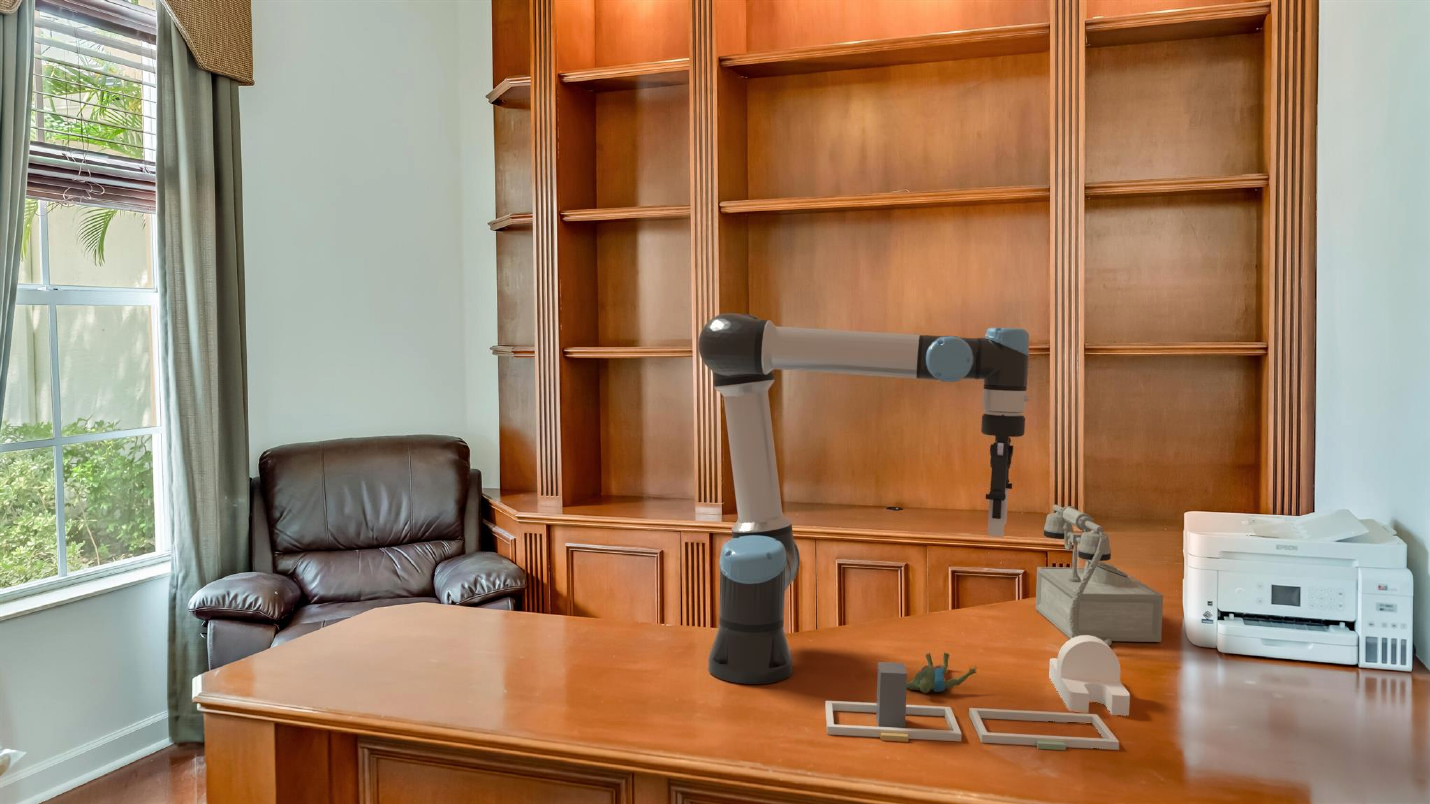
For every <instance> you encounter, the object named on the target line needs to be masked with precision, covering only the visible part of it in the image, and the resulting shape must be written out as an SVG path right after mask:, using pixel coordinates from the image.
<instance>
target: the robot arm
mask: <svg viewBox="0 0 1430 804" xmlns="http://www.w3.org/2000/svg"><path fill="white" fill-rule="evenodd" d="M698 351H699V352H698V353H699V356H700V358H701V360H702V362H703V363H704V365H705V366H706V367H707V369H709V370H710V371H711V372H712V377H713V385H714V386H713V387H714V389H715V390H716V391H717V392H718V393H720V394H721V395H722V397H723V402H724V403H723V404H724V411H725V417H726V418H725V420H726V429H727V435H728V445H729V453H730V461H731V469H732V477H733V485H734V487H733V488H734V493H735V503H736V511H737V520H736V522H735V524H733V526H732V527H731V534H732V535H731V537H732V538H731V539H730V540H728V541H726V542H725V543H724V544H723V545H722V548H721V551H720V557H719V569H720V570H719V572H720V573H719V607H718V608H719V610H718V611H719V614H718V615H719V619H718V620H719V621H718V629H717V633H716V635H715V638H714V640H713V644H712V647H711V649H710V653H709V655H708V672H709V673H710V674H711V675H712V676H714V677H715V678H717V679H720V680H722V681H727V682H731V683H735V684H736V683H737V684H746V685H760V684H762V685H764V684H771V683H776V682H782V681H784V680H787V679H789V677H791V676H792V674H793V663H794V662H793V657H792V654H791V649H790V647H789V643H788V640H787V637H786V636H787V635H786V633H785V629H784V627H785V625H784V624H785V594H786V593H785V592H786V590H787V589H788V588H789V586H791V584H792V583H793V582H794V580H795V579H796V577H797V575H798V573H799V569H800V568H799V567H800V565H801V564H800V563H801V556H800V551H799V548H798V545H797V543H796V542H795V541H796V540H794V531H793V523H792V521H791V520H790V519H789V518H788V517H787V516H785V515H784V513H783V507H782V499H781V490H780V483H779V474H778V466H777V456H776V455H777V454H776V448H775V441H774V431H773V424H772V423H773V422H772V416H771V406H770V399H769V389H771V387H772V385H773V384H774V382H775V373H774V370H779V371H781V370H782V371H797V372H798V371H800V372H810V373H811V372H813V373H815V372H816V373H828V374H845V375H858V376H873V377H889V378H890V377H891V378H903V379H904V378H905V379H906V378H907V379H920V380H929V381H930V380H931V381H932V380H933V381H940V382H945V383H955V382H958V381H960V380H962V379H963V380H983V388H982V405H981V409H982V411H984V412H985V413H983V414H982V415H981V428H980V429H981V430H980V432H981V433H982V434H983V435H987V436H993V437H994V442H993V443H990V446H989V456H990V459H989V460H990V462H989V464H990V468H991V473H990V474H991V475H990V476H991V477H990V487H989V488H990V489H989V490H990V491H989V493H986V494H985V500H989V501H988V502H989V503H988V519H987V522H988V523H987V537H995V538H1005V537H1004V535H1005V534H1004V533H1005V525H1007V524H1008V523H1007V522H1008V507H1009V506H1008V504H1009V490H1012V489H1013V482H1012V483H1011V482H1010V479H1009V476H1010V472H1009V470H1010V469H1011V465H1012V457H1013V455H1014V445H1011V441H1012V439H1011V437H1012V438H1020V437H1022V436H1024V435H1025V429H1026V417H1025V416H1024V415H1022V414H1024V413H1025V412H1026V407H1027V406H1026V402H1030V400H1031V398H1030V396H1028V395H1026V394H1027V389H1028V375H1029V374H1028V373H1029V360H1030V359H1029V358H1030V334H1029V332H1028V331H1027V330H1026V329H1024V328H1021V327H1020V328H1019V327H1017V328H1016V327H1015V328H1014V327H989V328H987V330H986V333H985V336H984V337H975V338H974V337H962V336H960V337H959V336H955V335H929V334H926V335H924V334H916V333H915V334H912V333H911V334H910V333H899V332H898V333H894V332H881V331H879V332H877V331H861V330H843V329H828V328H827V329H826V328H825V329H824V328H807V327H789V326H776V325H775V323H773V321H772V320H770V319H769V320H765V319H759V318H758V317H756V316H754V315H751V314H748V313H735V312H734V313H733V312H726V313H725V312H724V313H721V314H718V315H716V316H714V317H712V318H711V319H710V320H708V322H706V324H705V325H704V326H703V328H702V329H701V331H700V334H699V337H698Z"/></svg>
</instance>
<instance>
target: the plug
mask: <svg viewBox="0 0 1430 804" xmlns="http://www.w3.org/2000/svg"><path fill="white" fill-rule="evenodd" d="M907 681H908V672H907V669H906V666H905V663H903V662H884V661H882V662H881V661H878V662H877V683H876V684H877V685H876V686H877V687H876V703H877V713H876V717H875V719H876V723H877V727H892V728H906V721H907V720H906V717H907V714H906V705H907V690H908V689H907Z"/></svg>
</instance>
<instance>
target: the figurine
mask: <svg viewBox="0 0 1430 804" xmlns="http://www.w3.org/2000/svg"><path fill="white" fill-rule="evenodd" d="M925 658H926V661H927V664H925V665H923V666H922V667H921V669H920V671H918V672H917V673H916V674H915V676H914V678H913V679H912V680H911V681H908V680H907V690H912V691H913V690H917V691H920V692H922V693H924V694H927V693H929V692H930V690H932V691H934V692H943V691H945V690H948V689H950V688H953V687H956V686H959V685H961V684H962V683H964V681H966V680H967V679H968V677H970V676H972V675H974V674H975V673H977V667H978V666H976V665H975V666H974V667H973V668H972V666H971V667H970V668H969V669H968V672H967V673H965V674H964V675H961V676H959V677H958V678H949V679H947V680H945V677H944V675H945V674H947V669H948V667H949V658H950V655H949V653H947V652H943V659H942V660H943V665H942V664H937V665H936V666H934V663H933V658H932V655H931V653H930V652H929V653H926V654H925Z"/></svg>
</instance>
